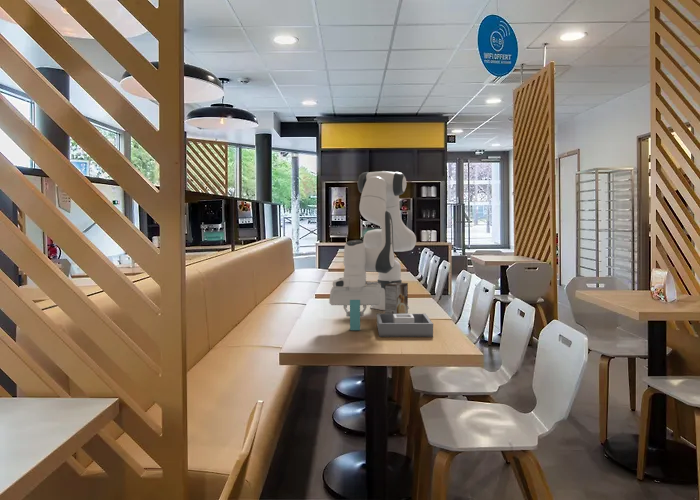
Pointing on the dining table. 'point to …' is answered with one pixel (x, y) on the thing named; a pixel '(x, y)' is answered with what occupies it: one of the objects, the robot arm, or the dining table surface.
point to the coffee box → (396, 298)
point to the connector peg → (354, 314)
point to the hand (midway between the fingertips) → (355, 316)
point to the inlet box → (404, 325)
